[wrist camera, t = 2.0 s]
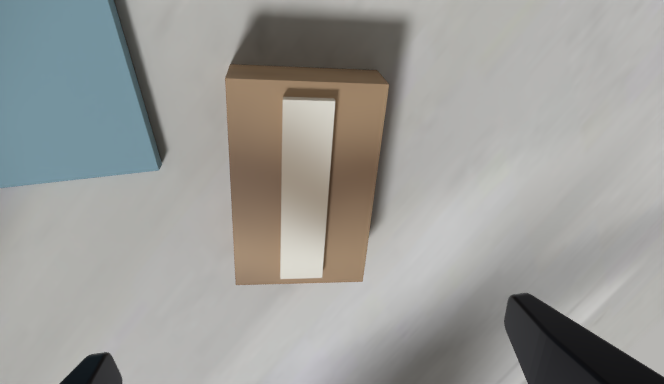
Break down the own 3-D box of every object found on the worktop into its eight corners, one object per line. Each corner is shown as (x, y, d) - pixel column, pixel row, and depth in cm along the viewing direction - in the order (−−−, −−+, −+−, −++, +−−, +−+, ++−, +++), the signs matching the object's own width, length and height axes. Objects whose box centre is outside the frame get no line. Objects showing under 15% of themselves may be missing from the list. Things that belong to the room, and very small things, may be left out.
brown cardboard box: (353, 248, 19) (364, 286, 17) (239, 250, 19) (235, 290, 16) (374, 67, 15) (391, 87, 13) (231, 61, 15) (224, 81, 13)
